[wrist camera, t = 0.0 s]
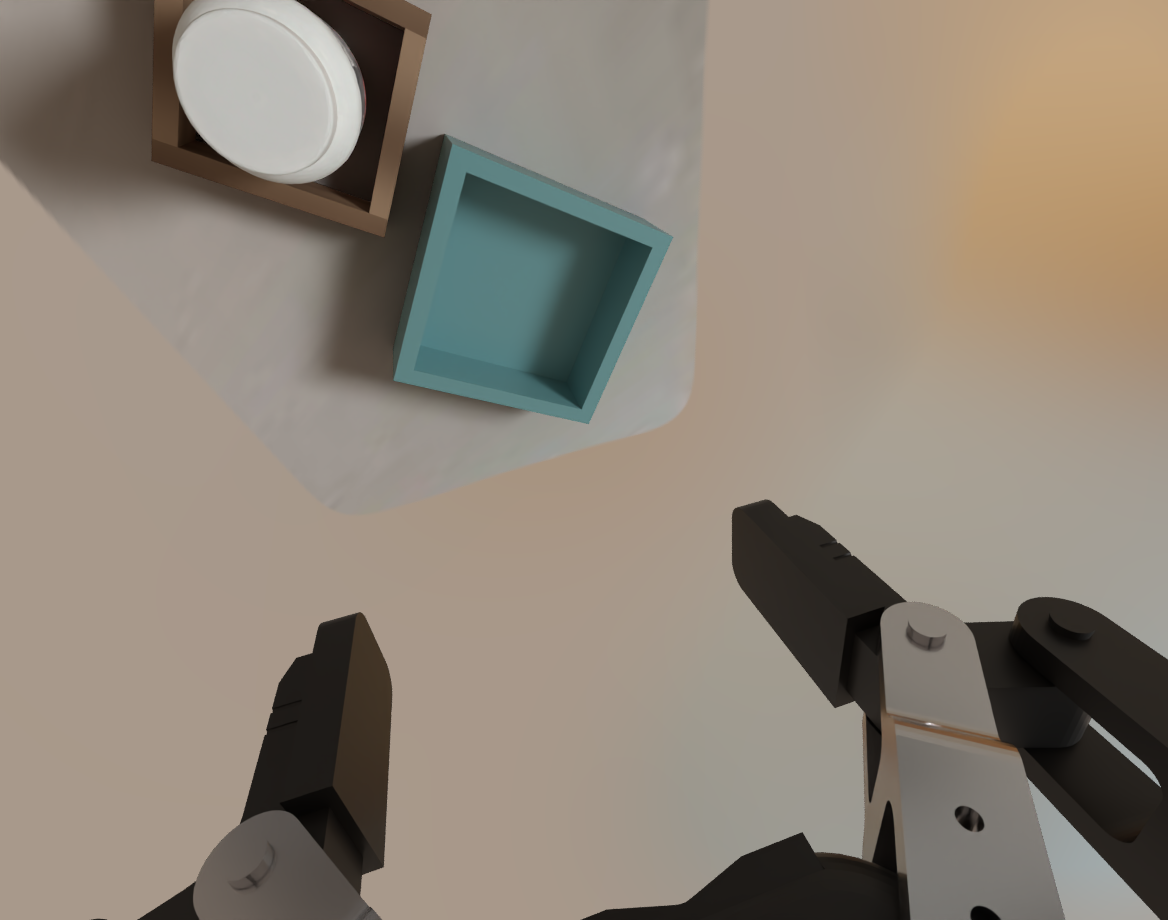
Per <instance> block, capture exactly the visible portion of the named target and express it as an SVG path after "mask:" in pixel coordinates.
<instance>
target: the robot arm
mask: <svg viewBox="0 0 1168 920" xmlns="http://www.w3.org/2000/svg"><path fill="white" fill-rule="evenodd" d="M732 565H733V570H734V574H735V576H736V579H737V581H738V583H739V585H740V587H741V588H742V590H743V591H744V592H745V594H746V595H747V596H748V598H749V599H750V600H751V601H752V603H753V604H754V605H755V607H756V608H757V609H758V610H759V612H760V613H761V614H762V615H763V617H764V618H765V619H766V621H767V622H768V623H769V624H770V626H771V627H772V628H773V629H774V631H775V632H776V633H777V635H778V636H779V637H780V639H781V640H782V641H783V642H784V644H785V645H786V646H787V647H788V649H789V650H790V651H791V653H792V654H793V655H794V656H795V658H796V659H797V660H798V662H799V663H800V664H801V665H802V667H803V668H804V669H805V671H806V672H807V673H808V674H809V676H810V677H811V678H812V680H813V681H814V682H815V683H816V685H817V686H818V687H819V688H820V690H821V691H822V692H823V694H824V695H825V696H826V697H827V699H828V700H829V701H830V703H831V704H832V705H833V706H834V708H836V707H839V706H842V705H845V704H848V703H851V702H853V701H856V703H857V704H858V705H859V706H860V708H861V709H862V710H863V711H864V713H863V720H862V728H863V763H864V802H865V823H864V836H863V850H862V859H860V858H856V857H852V856H847V855H843V854H836V853H824V852H817V853H814V851H813V849H812V848H811V846H810V844H809V843H808V841H807V839H806V838H805V836H804V834H803V833H799V834H797V835H794V836H792V837H789V838H787V839H784V840H782V841H779V842H776V843H774V844H771V845H769V846H766V847H764V848H761V849H759V850H756V851H754V852H751V853H749V854H746V855H744V856H741V857H740V858H739V859H738V860H737V861H735V862H734V863H733V864H732V865H730V866H729V867H728V868H727V869H726V870H725V871H723V872H722V873H721V874H720V875H718V876H717V877H716V878H715V879H714V880H713V881H711V882H710V883H709V884H708V885H706V886H705V887H704V888H703V889H702V890H701V891H699V892H698V893H697V894H696V895H695V896H693V897H692V898H691V899H690V900H688V901H687V902H685V903H682V904H679V905H669V906H655V907H639V908H625V909H610V910H605V911H602V912H600V913H597V914H594V915H592V916H590V917H587V918H584V919H582V920H1065V917H1064V913H1063V909H1062V906H1061V902H1060V898H1059V895H1058V891H1057V887H1056V884H1055V880H1054V876H1053V873H1052V869H1051V865H1050V861H1049V858H1048V854H1047V850H1046V847H1045V843H1044V839H1043V836H1042V832H1041V828H1040V824H1039V821H1038V817H1037V813H1036V810H1035V806H1034V802H1033V799H1032V795H1031V791H1030V788H1029V784H1028V780H1027V778H1028V779H1029V780H1030V781H1031V782H1032V783H1033V784H1034V785H1035V786H1036V787H1037V788H1038V789H1039V790H1040V792H1041V793H1042V794H1043V795H1044V796H1045V797H1046V798H1047V799H1048V800H1049V801H1050V802H1051V803H1052V804H1053V805H1054V807H1055V808H1056V809H1058V811H1059V812H1060V813H1061V814H1062V815H1063V816H1064V817H1065V818H1066V819H1067V820H1068V821H1069V822H1070V823H1071V825H1072V826H1073V827H1074V828H1075V829H1076V830H1077V831H1078V832H1079V833H1080V834H1081V835H1082V836H1083V837H1084V839H1085V840H1086V841H1087V842H1088V843H1089V844H1090V845H1091V846H1092V847H1093V848H1094V849H1095V850H1096V851H1097V852H1098V854H1099V855H1100V856H1101V857H1102V858H1103V859H1104V860H1105V861H1106V862H1107V863H1108V864H1109V865H1110V866H1111V867H1112V868H1113V870H1114V871H1115V872H1116V873H1117V874H1118V875H1119V876H1120V877H1121V878H1122V879H1123V880H1124V881H1125V882H1126V883H1127V884H1128V886H1129V887H1130V888H1131V889H1132V890H1133V891H1134V892H1135V893H1136V894H1137V895H1138V896H1139V897H1140V898H1141V899H1142V901H1143V902H1144V903H1145V904H1146V905H1147V906H1148V907H1149V908H1150V909H1151V910H1152V911H1153V912H1154V913H1155V914H1156V915H1157V916H1158V918H1159V919H1160V920H1168V659H1166V658H1165V657H1163V656H1162V655H1160V654H1159V653H1157V652H1156V651H1155V650H1153V649H1152V648H1150V647H1149V646H1147V645H1146V644H1144V643H1143V642H1141V641H1140V640H1139V639H1137V638H1136V637H1134V636H1133V635H1131V634H1130V633H1128V632H1127V631H1126V630H1124V629H1123V628H1121V627H1120V626H1118V625H1117V624H1115V623H1114V622H1113V621H1111V620H1110V619H1108V618H1107V617H1105V616H1104V615H1102V614H1100V613H1099V612H1097V611H1095V610H1093V609H1091V608H1089V607H1087V606H1084V605H1082V604H1079V603H1076V602H1073V601H1069V600H1065V599H1060V598H1053V597H1038V598H1033V599H1029V600H1027V601H1025V602H1023V603H1022V604H1021V605H1020V606H1019V608H1018V611H1017V614H1016V617H1015V620H1014V621H1007V622H974V623H964V622H963V621H961V620H960V619H959V618H958V617H956V616H955V615H953V614H951V613H950V612H948V611H946V610H944V609H942V608H939V607H937V606H933V605H930V604H925V603H920V602H907V601H906V600H904V599H903V598H902V597H901V596H900V595H899V594H898V593H896V592H895V591H894V590H893V589H891V587H890V586H888V585H887V584H886V583H885V582H884V581H883V580H881V579H880V578H879V577H878V576H877V575H876V574H875V573H873V572H872V571H871V570H870V569H869V568H868V567H867V566H865V565H864V564H863V563H862V562H861V561H860V560H859V559H857V558H856V557H855V556H851V553H850V552H849V551H848V550H847V549H846V548H845V547H844V546H843V545H841V544H840V543H837V541H836V539H835V538H833V537H832V536H831V535H830V534H829V533H828V532H827V531H825V530H824V529H823V528H822V527H821V526H820V525H818V524H816V523H813V522H811V521H809V520H807V519H804V518H802V517H800V516H798V515H794V516H791V517H788V516H787V515H786V514H784V512H783V511H781V510H780V509H779V508H778V507H777V506H776V505H775V504H774V503H772V502H771V501H770V500H762V501H759V502H755V503H752V504H748V505H745V506H741V507H737V508H735V509H734V510H733V514H732ZM272 709H273V713H271V714H270V718H269V722H268V725H267V729H266V730H267V735H265V737H264V740H263V744H262V747H261V751H260V754H259V758H258V762H257V765H256V769H255V773H254V776H253V780H252V784H251V788H250V791H249V795H248V799H247V802H246V806H245V810H244V813H243V817H242V819H241V822H240V825H238V826H237V827H236V828H235V829H233V830H232V831H231V832H229V833H228V834H227V835H226V836H225V837H224V838H223V839H222V840H221V841H220V843H219V844H218V845H217V846H216V847H215V848H214V849H213V851H212V852H211V854H210V855H209V856H208V858H207V859H206V861H205V863H204V865H203V866H202V868H201V870H200V872H199V875H198V877H197V880H196V882H194V883H193V884H192V885H190V886H189V887H187V888H186V889H185V890H183V891H182V892H180V893H178V894H177V895H175V896H174V897H172V898H171V899H169V900H168V901H166V902H165V903H163V904H161V905H160V906H158V907H157V908H155V909H154V910H152V911H151V912H149V913H147V914H146V915H144V916H143V917H141V918H140V919H138V920H382V919H381V918H380V917H379V916H378V915H377V914H376V912H375V911H374V910H373V909H372V908H371V907H369V906H368V905H367V904H366V903H365V901H364V900H363V899H362V898H361V896H360V891H361V879H362V875H363V874H366V873H369V872H371V871H374V870H377V869H380V868H382V867H384V850H385V829H386V811H387V791H388V769H389V750H390V729H391V710H392V685H391V678H390V674H389V670H388V666H387V664H386V661H385V659H384V657H383V655H382V653H381V650H380V648H379V646H378V644H377V642H376V640H375V637H374V635H373V633H372V631H371V628H370V626H369V624H368V622H367V620H366V618H365V616H364V615H363V614H362V613H361V612H359V613H355V614H352V615H348V616H345V617H341V618H337V619H334V620H330V621H327V622H323V623H321V624H320V625H319V627H318V631H317V635H316V640H315V644H314V648H313V653H312V654H308V655H305V656H301V657H298V658H296V659H295V661H294V662H293V664H292V665H291V667H290V668H289V669H288V671H287V672H286V674H285V675H284V677H283V678H282V679H281V681H280V682H279V685H278V689H277V692H276V696H275V699H274V703H273V707H272ZM1091 718H1093V719H1094V720H1095V721H1096V722H1097V723H1098V724H1100V725H1101V726H1102V727H1103V728H1104V729H1105V730H1106V731H1108V732H1109V733H1110V734H1111V735H1112V736H1114V737H1115V738H1116V739H1117V740H1118V741H1119V742H1120V743H1121V744H1123V745H1124V746H1125V747H1126V748H1127V749H1128V750H1130V751H1131V752H1132V753H1133V754H1134V755H1135V756H1137V757H1138V758H1139V759H1140V760H1141V761H1142V762H1143V763H1144V764H1145V765H1147V767H1148V768H1149V769H1150V770H1151V771H1152V772H1153V774H1154V775H1155V776H1156V778H1157V780H1158V782H1159V784H1160V786H1161V787H1159V786H1158V785H1157V784H1156V783H1155V782H1154V781H1153V780H1151V779H1150V778H1149V777H1148V776H1147V775H1146V774H1145V773H1144V772H1142V771H1141V770H1140V769H1139V768H1138V767H1137V766H1136V765H1134V764H1133V763H1132V762H1131V761H1130V760H1129V759H1128V758H1127V757H1125V756H1124V755H1123V754H1122V753H1121V752H1120V751H1119V750H1117V749H1116V748H1115V747H1114V746H1113V745H1112V744H1110V743H1109V742H1108V741H1107V740H1106V739H1105V738H1104V737H1103V736H1102V735H1100V734H1099V733H1098V732H1097V731H1096V730H1095V729H1094V728H1092V727H1091V726H1090V725H1089V722H1090V720H1091ZM93 920H106V919H93Z"/></svg>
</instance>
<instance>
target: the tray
mask: <svg viewBox="0 0 1168 920" xmlns="http://www.w3.org/2000/svg"><path fill="white" fill-rule="evenodd" d="M672 238H673V237H672V236H671V235H669V234H667V233H666V232H664V231H662V230H661V229H659V228H658V227H656V226H654V225H653V224H651V223H649V222H648V221H646V220H645V219H643V218H640V217H638V216H636V215H633V214H631V213H628V212H626V211H624V210H621V209H619V208H617V207H614V206H612V205H610V204H607V203H605V202H603V201H600V200H598V199H596V198H593V197H591V196H589V195H586V194H584V193H582V192H579V191H577V190H575V189H572V188H570V187H568V186H565V185H563V184H561V183H558V182H556V181H554V180H551V179H549V178H547V177H544V176H542V175H540V174H537V173H535V172H533V171H530V170H528V169H526V168H523V167H521V166H519V165H516V164H514V163H512V162H509V161H507V160H505V159H502V158H500V157H498V156H495V155H493V154H491V153H488V152H486V151H484V150H481V149H479V148H477V147H474V146H472V145H470V144H467V143H465V142H463V141H460V140H458V139H456V138H453V137H451V136H449V135H446V134H445V135H444V140H443V144H442V148H441V152H440V156H439V160H438V164H437V168H436V173H435V177H434V181H433V185H432V189H431V193H430V197H429V202H428V206H427V210H426V214H425V218H424V222H423V226H422V231H421V235H420V239H419V243H418V247H417V251H416V255H415V260H414V264H413V268H412V272H411V276H410V280H409V284H408V289H407V293H406V297H405V301H404V305H403V309H402V313H401V318H400V322H399V326H398V330H397V334H396V338H395V342H394V347H393V381H397V382H402V383H406V384H411V385H415V386H420V387H424V388H429V389H433V390H438V391H442V392H447V393H451V394H456V395H460V396H465V397H469V398H474V399H478V400H483V401H487V402H492V403H496V404H501V405H505V406H510V407H514V408H519V409H523V410H528V411H532V412H537V413H541V414H546V415H550V416H555V417H559V418H564V419H568V420H573V421H577V422H582V423H586V424H589V422H590V420H591V418H592V415H593V413H594V411H595V409H596V406H597V404H598V402H599V400H600V398H601V395H602V393H603V391H604V389H605V387H606V384H607V382H608V380H609V378H610V376H611V373H612V371H613V369H614V367H615V364H616V362H617V360H618V358H619V356H620V353H621V351H622V349H623V347H624V345H625V342H626V340H627V338H628V336H629V333H630V331H631V329H632V327H633V325H634V322H635V320H636V318H637V316H638V314H639V311H640V309H641V307H642V305H643V303H644V300H645V298H646V296H647V294H648V291H649V289H650V287H651V285H652V283H653V280H654V278H655V276H656V274H657V272H658V269H659V267H660V265H661V263H662V260H663V258H664V256H665V254H666V252H667V249H668V247H669V245H670V243H671V241H672Z"/></svg>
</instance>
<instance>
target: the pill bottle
mask: <svg viewBox="0 0 1168 920" xmlns="http://www.w3.org/2000/svg"><path fill="white" fill-rule="evenodd" d="M172 61H173V78H174V83H175V88H176V92H177V95H178V98H179V101H180V103H181V106H182V108H183V110H184V112H185V114H186V116H187V118H188V119H189V121H190V123H191V124H192V126H193V127H194V128H195V130H196V131H197V132H198V133H199V135H200V136H201V137H202V138H203V139H204V140H205V141H206V142H207V143H208V144H209V145H210V146H211V147H212V148H213V149H214V150H215V151H216V152H217V153H219V154H220V155H221V156H223V157H224V158H226V159H227V160H228V161H230V162H231V163H232V164H234V165H235V166H237V167H239V168H240V169H242V170H244V171H246V172H248V173H250V174H252V175H254V176H256V177H259V178H262V179H265V180H268V181H272V182H277V183H283V184H303V183H309V182H314V181H317V180H320V179H322V178H324V177H326V176H328V175H330V174H331V173H333V172H334V171H336V170H337V169H338V168H339V167H340V166H341V165H342V164H343V163H344V162H345V161H347V160H348V158H349V156H350V155H351V153H352V151H353V150H354V148H355V145H356V143H357V140H358V137H359V135H360V132H361V130H362V127H363V124H364V119H365V115H366V89H365V84H364V80H363V76H362V73H361V70H360V68H359V65H358V63H357V61H356V59H355V57H354V55H353V54H352V52H351V50H350V49H349V47H348V46H347V44H346V43H345V42H344V40H343V39H342V38H341V37H340V35H339V34H338V33H337V32H336V31H335V30H334V29H333V28H331V27H330V26H329V25H328V24H327V23H326V22H325V21H323V20H322V19H321V18H320V17H318V16H317V15H316V14H314V13H313V12H311V11H310V10H309V9H308V8H307V7H305V6H304V5H302V4H300V3H299V2H297V1H295V0H194V1H193V2H192V3H191V4H190V5H189V6H188V7H187V9H186V10H185V11H184V13H183V14H182V16H181V18H180V20H179V22H178V25H177V28H176V31H175V34H174V38H173V46H172Z"/></svg>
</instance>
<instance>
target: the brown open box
mask: <svg viewBox="0 0 1168 920" xmlns="http://www.w3.org/2000/svg"><path fill="white" fill-rule="evenodd" d="M193 1H194V0H154V47H153V105H152V161H153V162H157V163H160V164H163V165H166V166H169V167H172V168H175V169H178V170H181V171H184V172H187V173H190V174H193V175H196V176H199V177H202V178H205V179H208V180H211V181H214V182H217V183H220V184H223V185H226V186H229V187H232V188H235V189H238V190H241V191H245V192H248V193H251V194H254V195H257V196H260V197H263V198H266V199H269V200H272V201H275V202H278V203H281V204H284V205H287V206H290V207H293V208H296V209H299V210H302V211H305V212H308V213H311V214H314V215H317V216H320V217H323V218H326V219H329V220H333V221H336V222H339V223H342V224H345V225H348V226H351V227H354V228H357V229H360V230H363V231H366V232H369V233H372V234H375V235H378V236H381V237H385V232H386V227H387V222H388V218H389V213H390V208H391V204H392V199H393V194H394V189H395V185H396V180H397V175H398V171H399V166H400V161H401V156H402V152H403V147H404V142H405V137H406V133H407V128H408V123H409V119H410V114H411V109H412V104H413V100H414V95H415V90H416V86H417V81H418V76H419V71H420V67H421V62H422V57H423V53H424V48H425V43H426V38H427V34H428V29H429V24H430V20H431V15H432V14H430V13H428V12H426V11H424V10H422V9H420V8H418V7H416V6H414V5H412V4H410V3H408V2H407V1H405V0H342V1H344V2H346V3H348V4H350V5H352V6H354V7H356V8H358V9H360V10H362V11H364V12H366V13H368V14H370V15H372V16H374V17H376V18H378V19H380V20H382V21H385V22H387V23H389V24H391V25H393V26H395V27H397V28H399V29H401V30H403V31H404V34H403V39H402V44H401V49H400V55H399V60H398V65H397V70H396V75H395V80H394V85H393V90H392V96H391V101H390V106H389V111H388V116H387V121H386V126H385V131H384V137H383V142H382V147H381V152H380V157H379V162H378V167H377V172H376V178H375V183H374V188H373V193H372V198H371V202H369V201H366V200H363V199H361V198H358V197H355V196H352V195H349V194H346V193H343V192H341V191H338V190H335V189H332V188H329V187H326V186H324V185H321V184H318V183H315V182H309V183H303V184H283V183H277V182H272V181H268V180H265V179H262V178H259V177H256V176H254V175H252V174H250V173H248V172H246V171H244V170H242V169H240V168H239V167H237V166H235V165H234V164H232V163H231V162H230V161H228V160H227V159H226V158H224V157H223V156H221V155H220V154H219V153H217V152H216V151H215V150H214V149H213V148H212V147H211V146H210V145H207V144H205V143H202V142H199V141H196V140H195V138H196V130H195V128H194V127H193V126H192V124H191V123H190V121H189V119H188V118H187V116H186V114H185V112H184V110H183V108H182V106H181V103H180V101H179V98H178V95H177V92H176V88H175V83H174V78H173V61H172V46H173V38H174V34H175V31H176V28H177V25H178V22H179V20H180V18H181V16H182V14H183V13H184V11H185V10H186V9H187V7H188V6H189V5H190V4H191V3H192V2H193Z"/></svg>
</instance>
